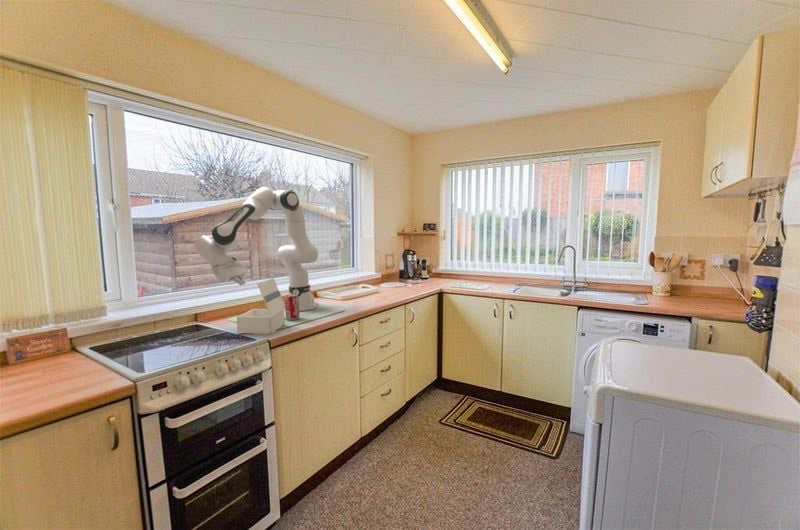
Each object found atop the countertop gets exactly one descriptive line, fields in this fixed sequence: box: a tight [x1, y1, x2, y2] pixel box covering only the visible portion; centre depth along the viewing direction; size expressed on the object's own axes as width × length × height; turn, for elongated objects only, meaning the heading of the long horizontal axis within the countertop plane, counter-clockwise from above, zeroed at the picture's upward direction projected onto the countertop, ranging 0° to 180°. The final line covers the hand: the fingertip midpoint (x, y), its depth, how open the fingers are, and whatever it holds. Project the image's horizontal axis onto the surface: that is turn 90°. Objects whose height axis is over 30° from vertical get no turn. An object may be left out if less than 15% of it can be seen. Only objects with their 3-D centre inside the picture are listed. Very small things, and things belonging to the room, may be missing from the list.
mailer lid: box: [256, 278, 286, 316], centre depth 166 cm, size 16×16×1 cm
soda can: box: [284, 293, 300, 321], centre depth 186 cm, size 7×7×13 cm
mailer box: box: [236, 308, 285, 335], centre depth 168 cm, size 16×16×8 cm
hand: (243, 284), depth 167 cm, fingers closed
